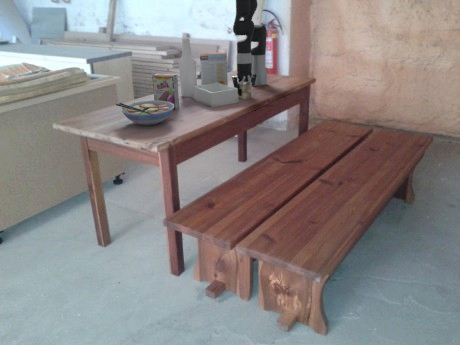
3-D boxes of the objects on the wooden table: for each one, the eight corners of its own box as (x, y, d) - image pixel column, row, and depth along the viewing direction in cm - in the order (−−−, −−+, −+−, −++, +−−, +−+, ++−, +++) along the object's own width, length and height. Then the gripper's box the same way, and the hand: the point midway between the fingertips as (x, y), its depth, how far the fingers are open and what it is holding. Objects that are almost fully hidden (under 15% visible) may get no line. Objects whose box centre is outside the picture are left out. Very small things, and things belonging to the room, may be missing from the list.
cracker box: (228, 90, 254) (227, 51, 245) (226, 92, 248) (225, 53, 240) (203, 90, 255) (201, 52, 247) (201, 92, 250) (199, 53, 241)
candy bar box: (154, 109, 220) (151, 75, 213) (159, 106, 224) (156, 73, 218) (175, 110, 216) (173, 76, 210) (179, 108, 221) (177, 74, 214)
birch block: (245, 96, 240) (245, 82, 237) (251, 97, 236) (251, 84, 233) (238, 97, 238) (237, 84, 235) (243, 99, 234) (243, 85, 231)
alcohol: (182, 93, 248) (178, 37, 237) (198, 93, 247) (195, 36, 236) (179, 97, 240) (175, 39, 228) (196, 97, 239) (192, 38, 228)
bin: (218, 95, 242) (217, 82, 240) (237, 102, 228) (237, 88, 225) (193, 99, 235) (192, 86, 232) (212, 107, 220) (211, 92, 218)
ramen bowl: (188, 122, 197) (186, 104, 194) (144, 135, 182) (142, 115, 179) (154, 112, 214) (152, 95, 210) (111, 123, 199) (108, 105, 196)
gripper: (251, 59, 236) (251, 91, 243) (228, 62, 229) (229, 95, 236) (260, 61, 230) (260, 94, 237) (236, 64, 223) (237, 98, 230)
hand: (244, 94), depth 236 cm, fingers closed on birch block, 5 cm apart
